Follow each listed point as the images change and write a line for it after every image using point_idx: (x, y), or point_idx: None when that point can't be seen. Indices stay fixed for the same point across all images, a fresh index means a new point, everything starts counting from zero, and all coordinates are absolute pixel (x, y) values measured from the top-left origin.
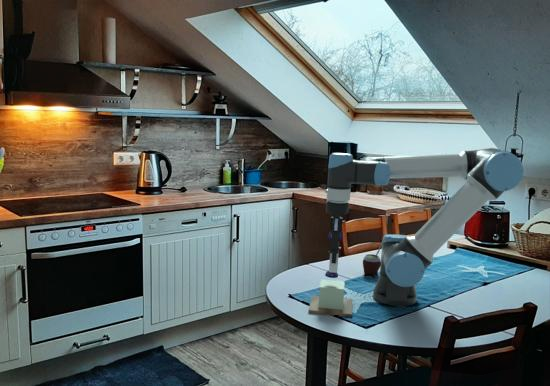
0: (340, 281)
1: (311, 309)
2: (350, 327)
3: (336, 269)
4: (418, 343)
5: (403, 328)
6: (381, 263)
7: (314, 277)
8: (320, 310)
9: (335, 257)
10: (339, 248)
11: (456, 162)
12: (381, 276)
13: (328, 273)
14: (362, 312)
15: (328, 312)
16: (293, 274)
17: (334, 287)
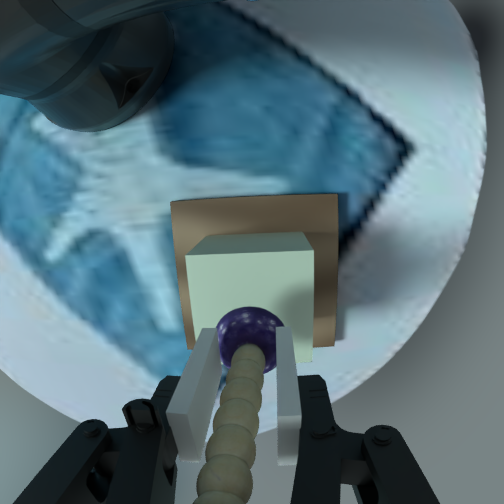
0: (192, 275)
1: (327, 339)
2: (419, 198)
3: (292, 342)
4: (451, 23)
5: (373, 32)
6: (25, 77)
7: (26, 333)
8: (330, 310)
9: (331, 411)
10: (160, 419)
11: None
12: (72, 83)
13: (275, 365)
14: (274, 154)
15: (337, 281)
16: (39, 384)
17: (298, 299)
